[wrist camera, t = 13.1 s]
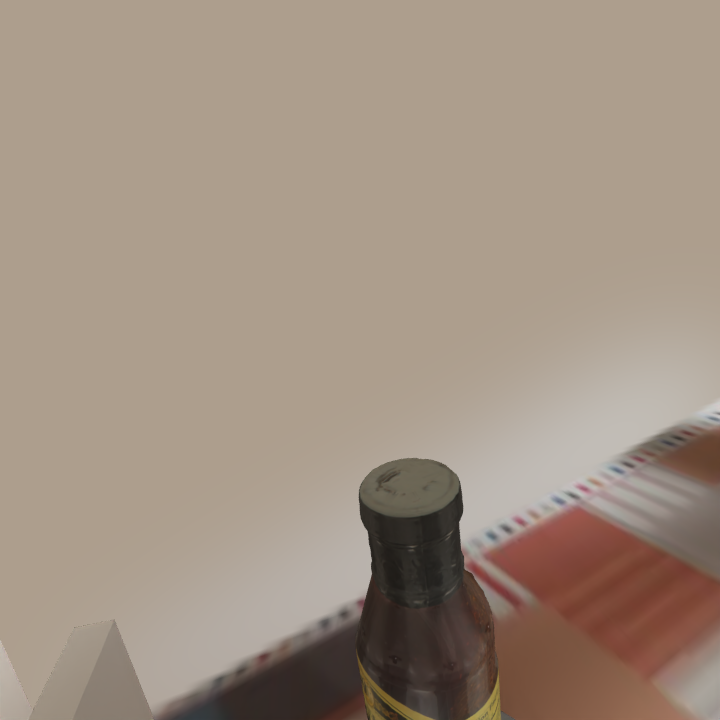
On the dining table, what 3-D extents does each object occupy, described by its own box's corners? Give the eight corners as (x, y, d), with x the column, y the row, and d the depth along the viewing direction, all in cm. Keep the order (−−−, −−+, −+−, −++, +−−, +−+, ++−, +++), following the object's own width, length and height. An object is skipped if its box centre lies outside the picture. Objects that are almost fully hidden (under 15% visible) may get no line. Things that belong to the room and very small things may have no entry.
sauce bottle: (369, 773, 30) (308, 461, 24) (470, 729, 32) (438, 425, 25) (415, 915, 24) (349, 549, 18) (536, 854, 26) (516, 495, 19)
